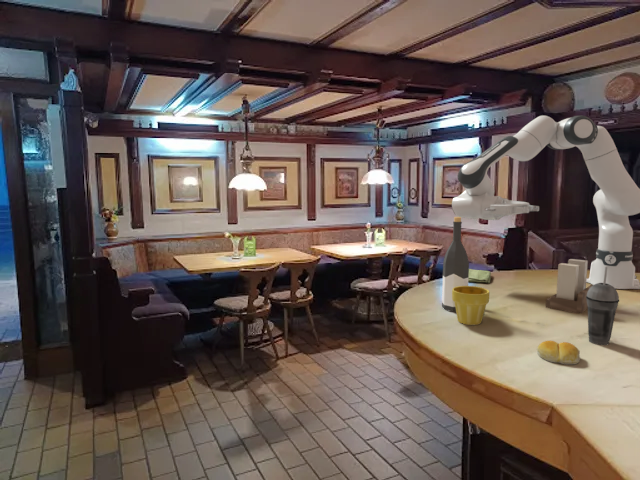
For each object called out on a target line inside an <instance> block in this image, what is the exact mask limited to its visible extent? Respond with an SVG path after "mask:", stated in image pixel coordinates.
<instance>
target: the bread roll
mask: <svg viewBox="0 0 640 480" xmlns="http://www.w3.org/2000/svg"><path fill="white" fill-rule="evenodd" d="M536 350H537V351H536V353H537V355H538V357H540V358H542V359H543V360H545V361H546V362H551V363H554V364H558V363H560V364H562V365H570V366H571V365H577V364H579V362H580V350H579V349H578V348H577V346H576V345H575V344H572V343H570V342H565V341H562V342H560V343H558V342H557V341H554V340H544V341H542V342H541V343H539V345H538V346H537V349H536Z"/></svg>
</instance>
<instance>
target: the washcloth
mask: <svg viewBox="0 0 640 480" xmlns="http://www.w3.org/2000/svg"><path fill="white" fill-rule="evenodd" d="M491 274H492V273H491V271H489V270H484V269H479V270H478V269H472V268H469V278H468V283H480V284H490V283H491V278H492V276H491Z"/></svg>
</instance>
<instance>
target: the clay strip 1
mask: <svg viewBox="0 0 640 480" xmlns="http://www.w3.org/2000/svg"><path fill="white" fill-rule="evenodd" d="M578 273H579V265H574V264H568V263H565V262H564V263H563V262H560V263H559V264H558V267H557V282H556V293H555V294H556V298H562V299H568V300H574V301H576V300H577V286H578Z"/></svg>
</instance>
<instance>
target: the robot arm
mask: <svg viewBox="0 0 640 480" xmlns="http://www.w3.org/2000/svg"><path fill="white" fill-rule="evenodd" d="M546 146H547V147H548V148H550V149H552V150H557V151H562V150H566V149H572V148H574V147H576V148H578V150H579V151H580V153H582V158H583V161H584V162H585V165H586V167H587V169H588V170H587V171H588V173H589V175H590V178H591V180H592V181H594V182H595V183H596V185H597V186H598V188H599V189H598V190H597V191H596V192H595V193H594V195H593V196H592V197H593V198H592V203H593V205H594V207H595V210H596V216H597V221H598V222H597V223H598V245H597V247H598V248H596V252H595V255H596V256H595V258H596V259H594V260H592V261H591V264H590V270H589V277H588V278H586V283H589V284H590V285H595V284H597V283H603V281H604V273H605V267H607V276H606V283H607V284H609V285H611V286H613V287H614V288H615V289H618V290H619V289H620V290H628V289H629V290H630V289H633V290H640V280H639V279H637V278H638V276H637V275H635V274H636V266H635V265H634V263H633V262H632V260H633V256H634V255H633V251H632V248H633V237H634V231H633V228H632V226H631V225H630V220H629V216H634V215H638V214H640V187H638V185H637V184H636V183H635V181H634V180H633V178H632V177H631V175H630V174H629V172H628V171H627V169H626V168H625V166H624V164H623V161H622V158H621V157H620V154H619V152H618V148H617V147H616V144H615V142H614V139H613V138H612V136H611V134H610V133H609V132H608V130H607V129H606V128H605V127H604V126H601V125H597V124H595V122H594V121H593V120H592V119H591V118H590V117H588V116H585V115H573V116H571V117H567V118H564V119H562V120H560V121H558V122H557V121H555V120H554V119H553V118H552V117H550V116H548V115H539V116H537V117H536V118H534V119H532V120H531V121H529V122H528V123H527V124H526V125H524V126H523V127H522V128H521V129H520V130H519V131H518V132H517V133H515V134H514V135H509V136H508V135H507V136H506V137H503V138H502V139H499V140H498V141H497V142H495V143H494V144H492V145H491V146H490V147H488V148H487V149H486V150H484V151H483V152H482V153H481V154H479V155H478V156H477V157H475V158H474V159H472V160H470V161H468V162H466V163H464V164H463V165H462V166H461V167H460V168H459V170H458V172H457V181H458V182H459V183H460V184H461V186H462V187H463V188H464V191H462V193H461V194H459V195H458V196H455V197H453V198H452V200H451V210H452V212H453V215H455V217H461V219H468V220H469V219H470V220H477V219H481V220H487V221H500V219H502V218H504V217H506V216H507V217H508V216H513V215H514V216H515V215H519V214H529V213H530V212H539V211H540V206H539V205H531V204H530V203H529V202H526V201H521V200H511V199H509V198H504V197H502V196H500V195H495V193H496V192H495V191H496V190H495V186H494V183H493V182H492V179H490V177H489V175H488V171H489V168H491V167H492V166H494V165H495V164H496V163H498V161H500V160H502V159H503V158H504V157H507V156H508V157H510V158H511V159H514V160H515V161H519V162H528V161H530V160H532V159H533V158H535V157H536V156H537V155H538V154H539V153H540V152H541V151H542V150H543V149H544V148H545V147H546Z"/></svg>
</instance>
